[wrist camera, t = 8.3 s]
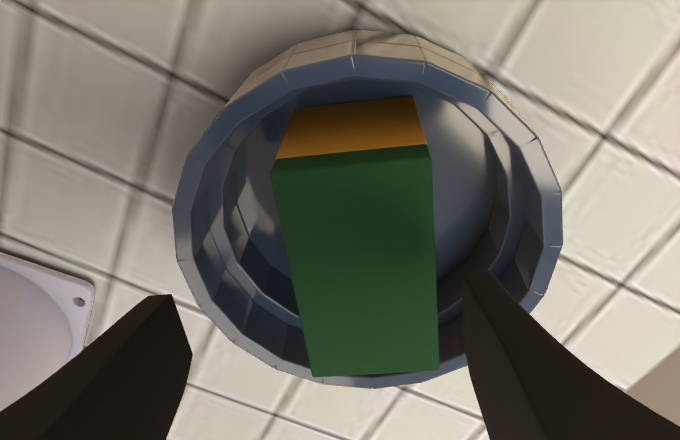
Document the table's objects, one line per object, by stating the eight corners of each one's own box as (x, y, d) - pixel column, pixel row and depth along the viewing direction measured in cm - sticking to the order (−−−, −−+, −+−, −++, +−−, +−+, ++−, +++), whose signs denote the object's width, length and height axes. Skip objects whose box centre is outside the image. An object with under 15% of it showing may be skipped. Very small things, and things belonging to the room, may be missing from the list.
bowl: (429, 344, 24) (442, 424, 20) (177, 254, 22) (137, 324, 18) (589, 113, 18) (651, 163, 14) (268, -36, 16) (239, -25, 12)
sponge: (423, 272, 21) (440, 371, 16) (323, 279, 22) (312, 378, 17) (413, 95, 18) (431, 156, 13) (293, 108, 18) (268, 172, 13)
